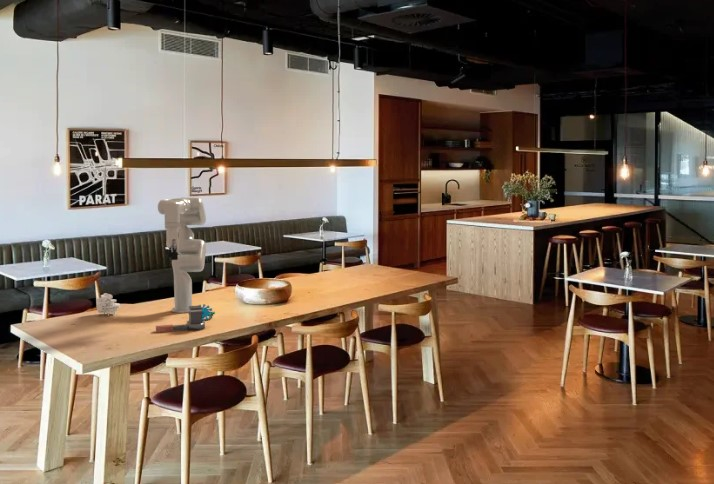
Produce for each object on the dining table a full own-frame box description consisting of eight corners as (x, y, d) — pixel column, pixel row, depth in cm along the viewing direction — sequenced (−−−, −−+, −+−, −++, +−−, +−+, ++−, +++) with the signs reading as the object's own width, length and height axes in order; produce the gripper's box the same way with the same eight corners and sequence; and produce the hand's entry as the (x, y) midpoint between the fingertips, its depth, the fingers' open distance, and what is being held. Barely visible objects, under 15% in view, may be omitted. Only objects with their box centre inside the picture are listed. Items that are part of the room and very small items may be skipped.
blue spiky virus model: (192, 318, 337) (194, 302, 343) (191, 324, 341) (194, 308, 348) (213, 320, 339) (216, 304, 345) (213, 326, 343) (215, 310, 350)
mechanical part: (121, 315, 348) (120, 294, 347) (97, 317, 343) (96, 296, 341) (119, 311, 358) (118, 290, 357) (96, 313, 353) (95, 292, 352)
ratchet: (155, 329, 319) (154, 315, 319) (203, 325, 328) (203, 312, 328) (157, 334, 311) (156, 319, 310) (206, 329, 320) (206, 316, 319)
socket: (188, 321, 324) (188, 306, 323) (200, 320, 326) (200, 305, 325) (190, 324, 319) (190, 308, 318) (202, 323, 321) (202, 307, 320)
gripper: (162, 224, 337) (163, 256, 339) (166, 227, 322) (167, 261, 324) (177, 223, 340) (178, 255, 342) (182, 226, 324) (183, 260, 327)
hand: (173, 258), depth 333 cm, fingers open, 9 cm apart
